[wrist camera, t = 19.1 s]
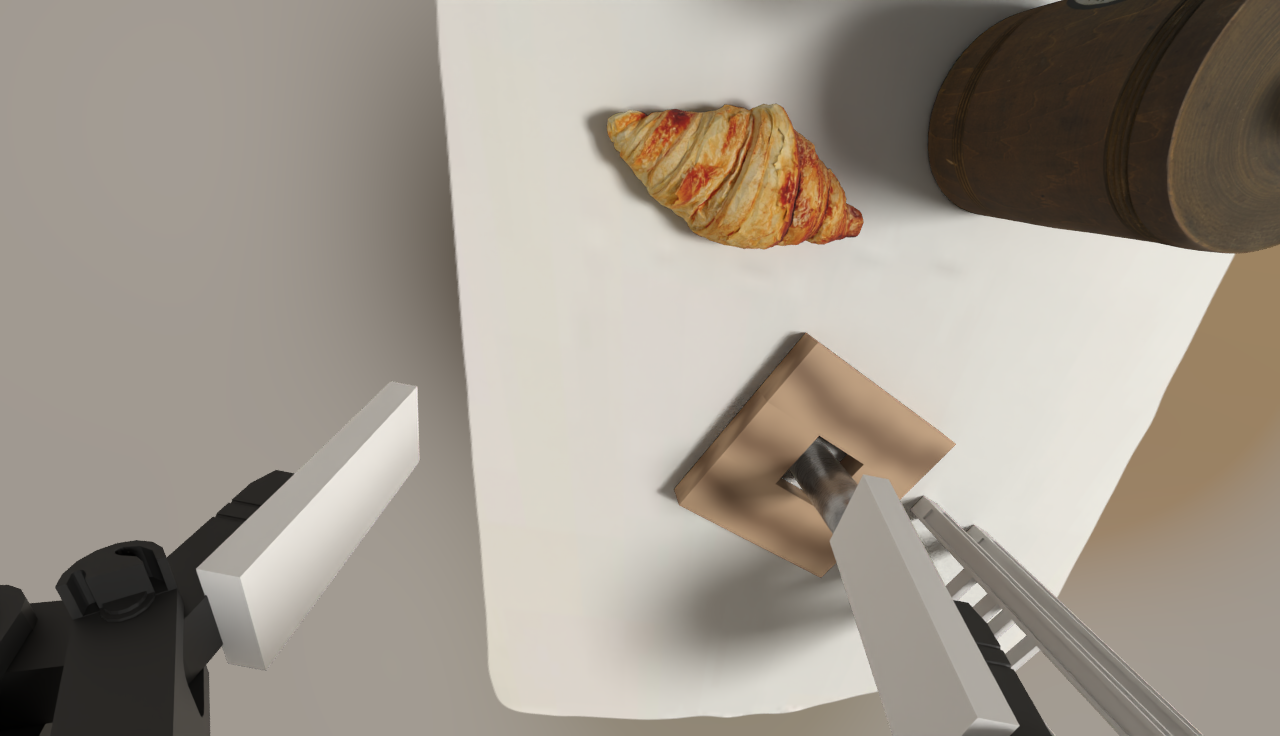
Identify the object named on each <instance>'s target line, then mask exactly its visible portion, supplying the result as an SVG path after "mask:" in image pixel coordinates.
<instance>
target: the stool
mask: <svg viewBox="0 0 1280 736" xmlns="http://www.w3.org/2000/svg"><path fill="white" fill-rule="evenodd" d="M910 510H911V511H912V512H913V514H914V515H915V516H916V517H917V518H918V519H919V520H920V521H921V522H922V523H923V524H924V525H925V526H926V528H927V529H928V530H929V531H930V532H931V533H932V534H933V535H934V536H935V537H936V538H937V539H938V540H939V542H940V543H941V544H942V545H943V546H944V547H945V548H946V549H947V550H948V551H949V552H950V553H951V554H952V556H953V557H954V558H955V559H956V560H957V561H958V562H959V563H960V564H961V565H962V566H963V567H964V569H963V570H962V571H961V572H960V573H959V574H958V575H957V576H956V577H955V578H954V579H953V580H952V581H950V582H949V583H948V584H947V585H946V588H947V590H948V592H949V594H950V596H951V597H952V599H953V600H956V601H958V600H959V599H960V598H961V597H962V596H963V595H964V594H965V593H966V592H967V591H968V590H969V589H970V588H971V587H972V586H974V585H975V584H976V583H977V582H978V584H979V585H980V586H981V587H982V588H983V589H984V590H985V591H986V592H987V593H988V594H987V595H986V596H984V597H983V598H982V599H981V600H980V601H979V602H978V603H977V604H976V605H975V606H974V607H973V609H974V610H975V611H976V612H977V613H978V614H979V615H980V616H981V617H982V618H983V619H984V621H985V622H987V621H988V620H989V619H991V618H992V617H993V616H994V615H995V614H996V613H997V612H998V611H999V610H1001V609H1003V610H1002V611H1001V612H1000V613H999V614H998V615H996V616H995V617H994V618H993V619H992V620H991V621H990V622H989V623H987V624H988V625H989V627H990V629H991V631H992V632H993V634H994V636H995V638H996V639H998V638H999V637H1000V636H1001V635H1002V634H1004V633H1005V632H1006V631H1007V630H1008V629H1009V628H1010V627H1012V626H1013V625H1014V624H1015V623H1016V625H1017V626H1018V627H1019V628H1020V629H1021V630H1022V631H1023V632H1024V633H1025V634H1026V635H1027V636H1026V637H1024V638H1023V639H1022V640H1021V641H1020V642H1019V643H1017V644H1016V645H1015V646H1014V647H1013V648H1012V649H1011V650H1009V651H1008V652H1007V653H1006V654H1005V655H1006V657H1007V659H1008V660H1009V662H1010V664H1011V669H1014V671H1016V670H1017V669H1018V668H1020V667H1021V666H1022V665H1023V664H1024V663H1025V662H1026V661H1028V660H1029V659H1030V658H1031V657H1033V656H1034V655H1035V654H1036V653H1037V652H1038V651H1040V650H1041V651H1042V652H1043V654H1044V655H1045V656H1046V657H1047V658H1048V659H1049V660H1050V661H1051V662H1052V663H1053V664H1054V665H1055V667H1056V668H1057V669H1058V670H1059V671H1060V672H1061V673H1062V674H1063V675H1064V676H1065V677H1066V678H1067V679H1068V681H1069V682H1070V683H1071V684H1072V685H1073V686H1074V687H1075V688H1076V689H1077V690H1078V691H1079V692H1080V693H1081V695H1082V696H1083V697H1084V698H1085V699H1086V700H1087V701H1088V702H1089V703H1090V704H1091V705H1092V706H1093V707H1094V709H1095V710H1096V711H1097V712H1098V713H1099V714H1100V715H1101V716H1102V717H1103V718H1104V719H1105V720H1106V721H1107V722H1108V724H1109V725H1110V726H1111V727H1112V728H1113V729H1114V730H1115V731H1116V732H1117V733H1118V734H1119V735H1120V736H1204V735H1203V734H1202V733H1201V732H1200V731H1199V730H1198V729H1197V728H1196V727H1194V726H1193V725H1192V724H1191V723H1190V722H1189V721H1188V720H1187V719H1186V718H1185V717H1184V716H1183V715H1182V714H1181V713H1180V712H1178V711H1177V710H1176V709H1175V708H1174V707H1173V706H1172V705H1171V704H1170V703H1169V702H1168V701H1167V700H1166V699H1165V698H1163V697H1162V696H1161V695H1160V694H1159V693H1158V692H1157V691H1156V690H1155V689H1154V688H1153V687H1152V686H1151V685H1150V684H1148V683H1147V682H1146V681H1145V680H1144V679H1143V678H1142V677H1141V676H1140V675H1139V674H1138V673H1136V671H1135V670H1133V669H1132V668H1131V667H1130V666H1129V665H1128V664H1127V663H1126V662H1125V661H1124V660H1123V659H1122V658H1121V657H1120V656H1119V655H1117V654H1116V653H1115V652H1114V651H1113V650H1112V649H1111V648H1110V647H1109V646H1108V645H1107V644H1106V643H1105V642H1103V641H1102V640H1101V639H1100V638H1099V637H1098V636H1097V635H1096V634H1095V633H1094V632H1093V631H1092V630H1091V629H1090V628H1089V627H1088V626H1086V625H1085V624H1084V623H1083V622H1082V621H1081V620H1080V619H1079V618H1078V617H1077V616H1076V615H1075V614H1074V613H1072V612H1071V611H1070V610H1069V609H1068V608H1067V607H1066V606H1065V605H1064V604H1063V603H1062V602H1061V601H1060V600H1059V599H1058V598H1056V597H1055V596H1054V595H1053V594H1052V593H1051V592H1050V591H1049V590H1048V589H1047V588H1046V587H1045V586H1044V585H1043V584H1042V583H1040V582H1039V581H1038V580H1037V579H1036V578H1035V577H1034V576H1033V575H1032V574H1031V573H1030V572H1029V571H1028V570H1027V569H1025V568H1024V567H1023V566H1022V565H1021V564H1020V563H1019V562H1018V561H1017V560H1016V559H1015V558H1014V557H1013V556H1012V555H1010V554H1009V553H1008V552H1007V551H1006V550H1005V549H1004V548H1003V547H1002V546H1001V545H1000V544H999V543H998V542H997V541H996V540H994V539H993V538H992V537H991V536H990V535H989V534H988V533H987V532H986V531H984V530H982V529H981V528H979V527H977V526H976V525H973V526H972V527H971V528H970V529H969V530H968V531H967V532H965V531H964V530H963V529H962V528H961V527H960V526H959V525H958V524H957V523H956V522H955V521H954V520H953V519H952V518H951V517H950V516H949V515H948V514H947V513H946V512H945V511H944V510H943V509H942V508H941V507H940V506H939V505H938V504H937V503H935V502H934V501H932V500H930V499H928V498H927V497H925V496H923V497H922V498H921V499H920V500H919V501H918V502H917V503H916V504H915V505H914V506H913V507H912V508H911V509H910ZM1042 720H1043V719H1042ZM1043 721H1044V720H1043ZM1044 723H1045V721H1044ZM1045 725H1046V727H1047V728H1048V730H1049V732H1050V734H1051V735H1052V736H1056V735H1055V734H1054V733H1053V731H1052V730H1051V729H1050V727H1049V726H1048V725H1047V724H1046V723H1045Z"/></svg>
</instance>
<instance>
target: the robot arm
mask: <svg viewBox="0 0 1280 736" xmlns="http://www.w3.org/2000/svg"><path fill="white" fill-rule="evenodd" d="M418 428H419V427H418V395H417V386H413V385H408V384H402V383H397V382H392V381H391V382H390V383H389V384H388V385H386V386H385V387H384V388H383V389H382V390H381V391H380V392H379V393H378V394H377V395H376V396H375V397H374V398H373V399H372V400H371V401H370V402H369V403H368V404H367V405H366V406H365V407H364V408H363V409H362V410H360V412H358V414H356V415H355V416H354V417H353V418H352V419H351V420H350V421H349V422H348V423H347V424H346V425H345V426H344V427H343V428H342V429H341V430H340V431H339V432H338V433H337V434H336V435H334V437H332V438H331V439H330V440H329V441H328V442H327V443H326V444H325V445H324V446H323V447H322V448H321V449H320V450H319V451H318V452H317V453H316V454H315V455H314V456H313V457H312V458H311V459H310V460H309V461H307V462H306V464H304V465H303V466H302V467H301V468H300V469H299V470H298V471H297V472H296V473H295V474H294V473H289V472H284V471H278V470H275V471H273V472H271V473H269V474H267V475H265V476H264V477H262V478H260V479H258V480H256V481H254V482H252V483H250V484H249V485H248V486H247V487H246V488H245V489H244V490H242V491H241V492H240V493H239V494H238V495H237V496H236V497H235V498H233V499H232V502H231V503H228V504H227V505H226V506H224V507H223V508H222V509H221V510H220V511H219V512H218V513H217V515H216V517H212V518H211V519H210V520H209V521H207V523H205V524H204V525H203V526H202V527H201V528H200V529H199V530H197V531H196V532H195V533H194V534H193V535H192V536H191V537H189V538H188V539H187V540H186V541H185V542H184V543H183V544H182V545H181V546H179V547H178V548H177V549H176V550H175V551H174V552H173V553H171V554H170V555H169V556H168V557H167V558H166V555H165V553H164V550H163V548H162V547H161V546H159V545H157V544H155V543H154V542H147V541H138V540H136V541H130V542H123V543H117V544H114V545H111V546H108V547H105V548H102V549H100V550H97V551H95V552H93V553H91V554H89V555H88V556H86V557H84V558H82V559H80V560H79V561H77V562H76V563H75V564H73V565H72V566H71V567H70V568H69V569H68V570H67V571H65V572H64V573H63V574H62V576H61V578H60V579H59V581H58V583H57V585H56V590H57V591H58V593H59V595H60V597H61V599H62V601H52V602H41V603H31V604H29V602H28V601H27V599H26V597H25V595H24V594H23V592H22V590H21V589H19V588H16V587H13V586H9V585H0V736H210V704H209V672H208V669H207V666H206V664H207V663H208V662H209V660H210V659H211V658H212V657H213V656H214V655H215V653H216V652H217V651H218V650H219V649H220V647H221V646H222V648H223V651H224V654H225V657H226V660H227V663H228V664H233V665H238V666H243V667H249V668H254V669H260V670H265V671H266V670H267V669H268V668H269V666H270V665H271V663H272V662H273V661H274V659H275V658H276V657H277V655H278V654H279V653H280V651H281V650H282V648H283V647H284V646H285V644H286V643H287V642H288V640H289V639H290V637H291V636H292V635H293V633H294V632H295V631H296V629H297V628H298V627H299V625H300V624H301V622H302V621H303V620H304V618H305V617H306V616H307V614H308V613H309V612H310V610H311V609H312V607H313V606H314V605H315V603H316V602H317V601H318V599H319V598H320V596H321V595H322V594H323V592H324V591H325V589H326V588H327V587H328V586H329V584H330V583H331V581H332V580H333V579H334V577H335V576H336V574H337V573H338V572H339V571H340V569H341V568H342V566H343V565H344V564H345V562H346V561H347V560H348V558H349V557H350V556H351V554H352V553H353V551H354V550H355V549H356V547H357V546H358V545H359V543H360V542H361V540H362V539H363V538H364V536H365V535H366V534H367V532H368V531H369V530H370V528H371V527H372V525H373V524H374V523H375V521H376V520H377V519H378V517H379V516H380V514H381V513H382V512H383V510H384V509H385V508H386V506H387V505H388V504H389V502H390V500H391V499H392V498H393V497H394V495H395V494H396V492H397V491H398V490H399V489H400V487H401V486H402V484H403V483H404V482H405V480H406V479H407V477H408V476H409V475H410V474H411V472H412V471H413V469H414V468H415V467H416V465H417V464H418V463H419V430H418ZM830 544H831V547H832V550H833V553H834V556H835V559H836V562H837V566H838V569H839V572H840V575H841V578H842V581H843V584H844V587H845V590H846V593H847V596H848V599H849V603H850V606H851V609H852V612H853V615H854V618H855V621H856V624H857V627H858V630H859V633H860V637H861V640H862V643H863V646H864V649H865V652H866V655H867V658H868V661H869V664H870V667H871V670H872V674H873V677H874V680H875V683H876V686H877V689H878V692H879V695H880V698H881V701H882V704H883V707H884V710H885V714H886V717H887V720H888V723H889V726H890V729H891V732H892V735H893V736H1052V735H1051V734H1050V732H1049V730H1048V728H1047V727H1046V725H1045V723H1044V721H1043V720H1042V718H1041V716H1040V714H1039V713H1038V711H1037V709H1036V707H1035V706H1034V704H1033V702H1032V700H1031V699H1030V697H1029V695H1028V693H1027V692H1026V690H1025V688H1024V686H1023V685H1022V683H1021V681H1020V680H1019V678H1018V676H1017V674H1016V673H1015V671H1014V669H1011V664H1010V662H1009V660H1008V659H1007V657H1006V655H1005V653H1004V652H1003V651H1002V650H1000V645H999V643H998V641H997V639H996V638H995V636H994V634H993V632H992V631H991V629H990V627H989V625H988V624H987V623H986V622H985V621H984V619H983V618H982V617H981V616H980V615H979V614H978V613H977V612H976V611H975V610H974V609H973V608H972V606H971V605H970V604H969V603H966V602H961V601H956V600H953V599H952V597H951V596H950V594H949V592H948V590H947V588H946V586H945V584H944V582H943V581H942V579H941V577H940V575H939V573H938V571H937V569H936V567H935V565H934V564H933V562H932V560H931V558H930V556H929V554H928V552H927V550H926V549H925V547H924V545H923V543H922V541H921V539H920V537H919V535H918V533H917V532H916V530H915V528H914V526H913V524H912V522H911V520H910V518H909V517H908V515H907V513H906V511H905V509H904V507H903V505H902V503H901V501H900V500H899V498H898V496H897V494H896V492H895V490H894V488H893V486H892V485H891V483H890V481H889V479H884V478H879V477H874V476H869V475H864V474H863V476H862V478H861V480H860V482H859V484H858V486H857V488H856V490H855V492H854V494H853V496H852V498H851V500H850V502H849V504H848V506H847V508H846V510H845V512H844V513H843V515H842V517H841V519H840V521H839V523H838V525H837V527H836V529H835V531H834V533H833V535H832V537H831V539H830Z"/></svg>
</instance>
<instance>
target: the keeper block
mask: <svg viewBox="0 0 1280 736" xmlns="http://www.w3.org/2000/svg"><path fill="white" fill-rule="evenodd" d="M818 436H821V437H822V438H824V439H825V440H827V441H828V442H830V443H832V444H833V445H835V446H836V447H838V448H839V449H841V450H842V451H844V452H845V453H847V455H846V456H845V457H844V458H843V460H842V461H841V462H840V464H841V465H842V466H843V467H844V468H845V469H846V471H847V472H848V473H849V474H850V475H851V477H852V478H853V479H854V480H855V481H856V482H857V484H859V482H860V480H861V478H862V476H863V474H864V475H869V476H874V477H879V478H884V479H889V481H890V483H891V485H892V486H893V488H894V490H895V492H896V494H897V496H898V498H899V500H900V499H901V498H902V497H903V496H904V495H905V494H906V493H907V492H908V491H909V490H910V489H911V488H912V487H913V486H914V485H915V484H916V483H917V482H918V481H919V480H920V479H921V478H922V477H923V476H924V475H926V474H927V473H928V472H929V471H930V470H931V469H932V468H933V467H934V466H935V465H936V464H937V463H938V462H939V461H940V460H941V459H942V458H943V457H944V456H945V455H946V454H947V453H948V452H949V451H950V450H951V449H952V448H953V447H954V446H955V445H956V444H955V443H954V442H953V441H952V440H950V439H949V438H948V437H946V436H945V435H944V434H943V433H941V432H940V431H939V430H937V429H936V428H935V427H933V426H932V425H931V424H929V423H928V422H927V421H925V420H924V419H922V418H921V417H920V416H918V415H917V414H916V413H914V412H913V411H912V410H910V409H909V408H908V407H906V406H905V405H903V404H902V403H901V402H899V401H898V400H897V399H895V398H894V397H893V396H891V395H890V394H889V393H887V392H886V391H885V390H883V389H882V388H880V387H879V386H878V385H876V384H875V383H874V382H872V381H871V380H870V379H868V378H867V377H866V376H864V375H863V374H862V373H860V372H859V371H857V370H856V369H855V368H853V367H852V366H851V365H849V364H848V363H847V362H845V361H844V360H843V359H841V358H840V357H839V356H837V355H836V354H834V353H833V352H832V351H830V350H829V349H828V348H826V347H825V346H824V345H822V344H821V343H820V342H818V341H817V340H815V339H814V338H813V337H811V336H810V335H809V334H807V333H805V334H804V335H803V336H802V338H801V339H800V340H799V341H798V342H797V344H796V345H795V346H794V347H793V348H792V349H791V351H790V352H789V353H788V354H787V355H786V357H785V358H784V359H783V360H782V361H781V363H780V364H779V365H778V366H777V367H776V368H775V370H774V371H773V372H772V373H771V374H770V376H769V377H768V378H767V379H766V380H765V382H764V383H763V384H762V385H761V386H760V387H759V389H758V390H757V391H756V392H755V393H754V395H753V396H752V397H751V398H750V399H749V401H748V402H747V403H746V404H745V405H744V407H743V408H742V409H741V410H740V411H739V412H738V414H737V415H736V416H735V417H734V418H733V420H732V421H731V422H730V423H729V424H728V426H727V427H726V428H725V429H724V430H723V431H722V433H721V434H720V435H719V436H718V437H717V439H716V440H715V441H714V442H713V443H712V445H711V446H710V447H709V448H708V449H707V451H706V452H705V453H704V454H703V455H702V456H701V458H700V459H699V460H698V461H697V462H696V464H695V465H694V466H693V467H692V468H691V470H690V471H689V472H688V473H687V474H686V475H685V477H684V478H683V479H682V480H681V481H680V483H679V484H678V485H677V486H676V487H675V489H674V490H675V494H676V497H677V500H678V503H679V505H680V506H682V507H684V508H686V509H688V510H690V511H692V512H693V513H695V514H697V515H699V516H701V517H703V518H705V519H707V520H709V521H711V522H713V523H715V524H717V525H719V526H721V527H723V528H725V529H727V530H729V531H731V532H733V533H734V534H736V535H738V536H740V537H742V538H744V539H746V540H748V541H750V542H752V543H754V544H756V545H758V546H760V547H762V548H764V549H766V550H768V551H770V552H772V553H773V554H775V555H777V556H779V557H781V558H783V559H785V560H787V561H789V562H791V563H793V564H795V565H797V566H799V567H801V568H803V569H805V570H807V571H809V572H811V573H812V574H814V575H816V576H818V577H820V578H821V577H822V576H823V575H824V574H825V573H826V572H827V571H828V570H829V569H830V568H831V567H833V566H834V565H835V564H836V563H837V562H836V559H835V556H834V553H833V550H832V547H831V544H830V539H831V537H832V535H833V534H832V532H831V531H830V529H829V528H828V526H827V525H826V523H825V522H824V520H823V519H822V517H821V516H820V514H819V513H818V511H817V510H816V509H815V507H814V506H813V504H812V503H811V501H810V500H809V498H808V497H807V495H806V494H805V492H804V491H803V490H801V489H799V488H798V487H796V486H794V485H793V484H791V483H789V482H787V481H786V480H784V479H782V478H781V477H782V476H783V475H784V474H785V473H786V472H787V470H788V469H789V468H790V467H791V466H792V465H793V464H794V463H795V462H796V461H797V460H798V458H799V457H800V456H801V455H802V454H803V453H804V452H805V451H806V450H807V449H808V447H809V446H810V445H811V444H812V443H813V442H814V441H815V440H816V439H817V438H818Z"/></svg>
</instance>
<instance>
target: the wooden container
mask: <svg viewBox="0 0 1280 736" xmlns="http://www.w3.org/2000/svg"><path fill="white" fill-rule="evenodd" d="M928 151H929V162H930V166H931V170H932V173H933V176H934V178H935V180H936V182H937V184H938V186H939V188H940V189H941V191H942V192H943V193H944V195H945V196H946V197H947V198H948V199H949V200H950V201H951V202H953V203H954V204H955V205H957V206H958V207H960V208H962V209H964V210H966V211H969V212H971V213H975V214H979V215H984V216H990V217H995V218H1001V219H1008V220H1013V221H1018V222H1024V223H1029V224H1034V225H1040V226H1046V227H1052V228H1059V229H1066V230H1073V231H1081V232H1089V233H1096V234H1102V235H1109V236H1115V237H1122V238H1129V239H1136V240H1142V241H1149V242H1156V243H1161V244H1165V245H1170V246H1175V247H1179V248H1185V249H1191V250H1198V251H1208V252H1218V253H1248V252H1254V251H1259V250H1263V249H1267V248H1271V247H1273V246H1276V245H1279V244H1280V0H1061V1H1058V2H1054V3H1051V4H1047V5H1044V6H1041V7H1037V8H1034V9H1031V10H1027V11H1024V12H1021V13H1018V14H1015V15H1013V16H1010V17H1008V18H1006V19H1004V20H1002V21H1000V22H999V23H997V24H995V25H994V26H992V27H991V28H989V29H988V30H986V31H985V32H984V33H982V34H981V35H980V36H979V37H978V38H977V39H976V40H975V41H974V42H973V43H972V44H971V45H970V46H969V47H968V48H967V49H966V50H965V51H964V52H963V53H962V55H961V56H960V57H959V59H958V60H957V61H956V63H955V64H954V66H953V67H952V69H951V70H950V72H949V73H948V76H947V77H946V79H945V81H944V82H943V84H942V86H941V89H940V91H939V93H938V95H937V98H936V101H935V104H934V108H933V111H932V115H931V120H930V125H929V132H928Z"/></svg>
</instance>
